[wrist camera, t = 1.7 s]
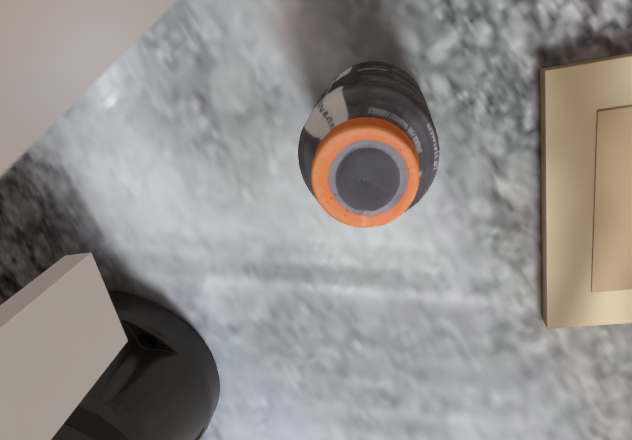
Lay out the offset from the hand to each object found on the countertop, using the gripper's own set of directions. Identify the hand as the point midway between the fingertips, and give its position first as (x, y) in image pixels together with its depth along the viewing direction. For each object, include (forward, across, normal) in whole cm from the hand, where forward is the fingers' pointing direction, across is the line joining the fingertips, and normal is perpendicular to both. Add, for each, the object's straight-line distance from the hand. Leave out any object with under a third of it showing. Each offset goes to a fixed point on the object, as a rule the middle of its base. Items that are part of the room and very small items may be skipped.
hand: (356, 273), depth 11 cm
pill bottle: (+18, 0, 0) cm, 18 cm away
